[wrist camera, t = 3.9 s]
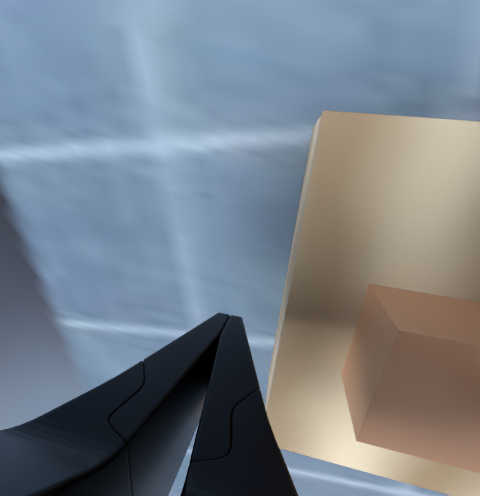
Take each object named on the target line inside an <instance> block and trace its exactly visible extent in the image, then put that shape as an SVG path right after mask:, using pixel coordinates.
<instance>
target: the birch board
mask: <svg viewBox="0 0 480 496" xmlns="http://www.w3.org/2000/svg"><path fill="white" fill-rule="evenodd" d="M369 284H374V285H380V286H386V287H392V288H398V289H404V290H410V291H416V292H422V293H428V294H434V295H440V296H446V297H452V298H458V299H464V300H470V301H476V302H480V122H478V121H464V120H450V119H436V118H422V117H408V116H394V115H380V114H366V113H352V112H338V111H323V113H322V114H321V116H320V117H319V119H318V121H317V122H316V124H315V126H314V127H313V130H312V136H311V142H310V147H309V153H308V158H307V164H306V170H305V175H304V181H303V187H302V192H301V198H300V203H299V209H298V215H297V220H296V226H295V231H294V237H293V243H292V248H291V254H290V259H289V265H288V271H287V276H286V282H285V287H284V293H283V299H282V304H281V310H280V315H279V321H278V327H277V332H276V338H275V343H274V349H273V355H272V360H271V366H270V372H269V378H268V387H267V396H266V405H265V409H266V413H267V416H268V419H269V422H270V425H271V427H272V430H273V433H274V436H275V438H276V441H277V444H278V446H279V448H281V449H284V450H288V451H292V452H295V453H299V454H302V455H306V456H310V457H313V458H317V459H321V460H324V461H328V462H331V463H335V464H339V465H342V466H346V467H350V468H353V469H357V470H360V471H364V472H368V473H371V474H375V475H379V476H382V477H386V478H389V479H393V480H397V481H400V482H404V483H408V484H411V485H415V486H418V487H422V488H426V489H429V490H433V491H437V492H440V493H444V494H447V495H451V496H480V473H477V472H473V471H469V470H465V469H462V468H458V467H454V466H450V465H446V464H442V463H438V462H435V461H431V460H427V459H423V458H419V457H415V456H412V455H408V454H404V453H400V452H396V451H392V450H388V449H385V448H381V447H377V446H373V445H369V444H365V443H361V442H358V441H356V438H355V434H354V429H353V425H352V421H351V416H350V412H349V407H348V403H347V399H346V394H345V390H344V386H343V381H342V377H341V373H342V370H343V367H344V363H345V360H346V357H347V353H348V350H349V347H350V344H351V340H352V337H353V334H354V331H355V327H356V324H357V321H358V318H359V314H360V311H361V308H362V305H363V301H364V298H365V295H366V292H367V288H368V285H369Z"/></svg>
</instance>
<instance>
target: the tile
mask: <svg viewBox="0 0 480 496" xmlns="http://www.w3.org/2000/svg"><path fill="white" fill-rule="evenodd" d="M341 377H342V381H343V386H344V390H345V394H346V399H347V403H348V407H349V412H350V416H351V421H352V425H353V429H354V434H355V438H356V441H358V442H361V443H365V444H369V445H373V446H377V447H381V448H385V449H388V450H392V451H396V452H400V453H404V454H408V455H412V456H415V457H419V458H423V459H427V460H431V461H435V462H438V463H442V464H446V465H450V466H454V467H458V468H462V469H465V470H469V471H473V472H477V473H480V302H476V301H470V300H464V299H458V298H452V297H446V296H440V295H434V294H428V293H422V292H416V291H410V290H404V289H398V288H392V287H386V286H380V285H374V284H369V285H368V288H367V292H366V295H365V298H364V301H363V305H362V308H361V311H360V314H359V318H358V321H357V324H356V327H355V331H354V334H353V337H352V340H351V344H350V347H349V350H348V353H347V357H346V360H345V363H344V367H343V370H342V373H341Z"/></svg>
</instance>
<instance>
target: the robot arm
mask: <svg viewBox="0 0 480 496" xmlns="http://www.w3.org/2000/svg"><path fill="white" fill-rule="evenodd" d="M199 420H200V421H199ZM198 423H199V425H198ZM197 425H198V430H197V434H196V438H195V442H194V446H193V450H192V455H191V459H190V464H189V467H188V471H187V475H186V479H185V483H184V486H183V490H182V493H181V496H298V494H297V491H296V489H295V486H294V484H293V481H292V479H291V476H290V474H289V471H288V469H287V466H286V464H285V461H284V459H283V456H282V454H281V451H280V449H279V446H278V444H277V441H276V438H275V436H274V433H273V430H272V427H271V425H270V422H269V419H268V416H267V413H266V409H265V406H264V402H263V398H262V394H261V391H260V387H259V383H258V379H257V375H256V371H255V367H254V363H253V359H252V355H251V351H250V347H249V343H248V339H247V335H246V331H245V327H244V323H243V320H242V318H241V317H238V316H233V315H231V316H230V315H228V314H224V313H217V314H216V315H214V316H213V317H211V318H209V319H208V320H206V321H205V322H203V323H201V324H200V325H198V326H197V327H195V328H193V329H192V330H190V331H189V332H187V333H185V334H184V335H182V336H181V337H179V338H177V339H176V340H174V341H173V342H171V343H170V344H168V345H166V346H165V347H163V348H162V349H160V350H158V351H157V352H155V353H154V354H152V355H150V356H149V357H147V358H146V359H144V360H143V361H141V362H139V363H137V364H136V365H134V366H133V367H131V368H129V369H128V370H126V371H124V372H123V373H121V374H119V375H118V376H116V377H114V378H112V379H110V380H109V381H107V382H105V383H103V384H101V385H99V386H98V387H96V388H94V389H92V390H90V391H88V392H86V393H84V394H82V395H80V396H78V397H76V398H74V399H72V400H71V401H69V402H67V403H65V404H63V405H61V406H59V407H57V408H55V409H53V410H51V411H49V412H48V413H45V414H43V415H41V416H39V417H37V418H36V419H33V420H31V421H29V422H26V423H24V424H21V425H19V426H15V427H12V428H9V429H5V430H0V496H168V495H169V492H170V490H171V488H172V485H173V483H174V480H175V478H176V476H177V473H178V471H179V468H180V466H181V464H182V461H183V459H184V456H185V454H186V452H187V449H188V447H189V444H190V442H191V440H192V437H193V435H194V432H195V430H196V428H197Z"/></svg>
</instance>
